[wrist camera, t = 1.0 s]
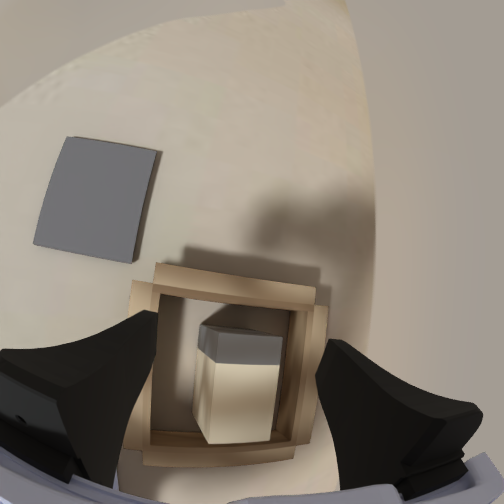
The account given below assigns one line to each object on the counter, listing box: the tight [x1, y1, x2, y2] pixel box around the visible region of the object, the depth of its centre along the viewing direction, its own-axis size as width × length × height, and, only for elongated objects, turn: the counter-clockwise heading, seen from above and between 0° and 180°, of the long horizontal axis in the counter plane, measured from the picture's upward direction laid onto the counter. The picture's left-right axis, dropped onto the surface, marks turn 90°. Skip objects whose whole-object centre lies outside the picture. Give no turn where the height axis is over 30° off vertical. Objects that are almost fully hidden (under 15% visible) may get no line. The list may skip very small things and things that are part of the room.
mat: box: [33, 137, 157, 264], centre depth 21 cm, size 10×9×1 cm
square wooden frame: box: [123, 262, 328, 467], centre depth 21 cm, size 16×16×3 cm
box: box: [192, 324, 283, 444], centre depth 20 cm, size 8×4×6 cm, turn 174°
